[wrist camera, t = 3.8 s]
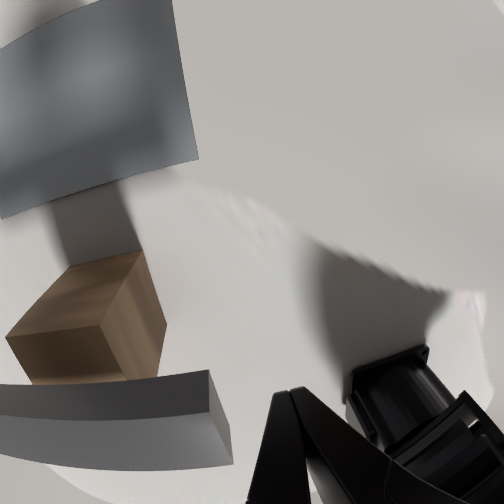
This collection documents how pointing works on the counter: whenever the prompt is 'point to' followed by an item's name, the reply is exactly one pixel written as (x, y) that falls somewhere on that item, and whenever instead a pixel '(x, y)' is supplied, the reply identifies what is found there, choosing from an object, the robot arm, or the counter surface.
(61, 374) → the wooden block
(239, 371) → the counter surface
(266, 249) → the counter surface
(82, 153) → the pad
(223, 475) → the counter surface
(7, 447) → the grey rectangular bar
